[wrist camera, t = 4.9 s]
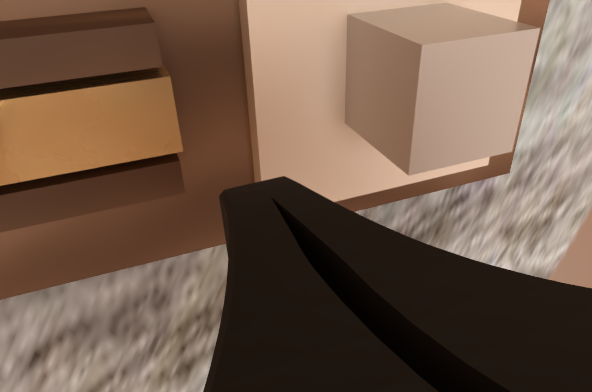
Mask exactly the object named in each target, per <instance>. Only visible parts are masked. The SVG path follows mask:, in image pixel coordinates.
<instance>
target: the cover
mask: <svg viewBox="0 0 592 392" xmlns="http://www.w3.org/2000/svg"><path fill="white" fill-rule="evenodd" d="M520 5H521V0H239V10H240V21H241V33H242V44H243V55H244V66H245V77H246V88H247V100H248V111H249V122H250V133H251V144H252V155H253V167H254V178H255V182H260V181H264V180H269V179H273V178H277V177H282V176H285V177H288V178H290V179H292V180H294V181H296V182H298V183H300V184H302V185H303V186H305V187H307V188H309V189H311V190H313V191H314V192H316V193H318V194H320V195H322V196H324V197H326V198H328V199H329V200H331V201H333V202H336V201H340V200H345V199H349V198H353V197H357V196H361V195H366V194H370V193H374V192H378V191H382V190H386V189H391V188H395V187H399V186H403V185H407V184H412V183H416V182H420V181H424V180H428V179H432V178H437V177H441V176H445V175H449V174H453V173H457V172H462V171H466V170H470V169H474V168H478V167H483V166H487V165H488V163H489V158H490V157H491V156H495V155H500V154H504V153H508V152H512V150H513V145H514V141H515V137H516V132H517V128H518V124H519V119H520V115H521V110H522V106H523V102H524V97H525V93H526V89H527V84H528V80H529V75H530V71H531V67H532V62H533V58H534V54H535V49H536V45H537V40H538V36H539V32H540V28H539V27H535V26H531V25H527V24H524V23H520V22H517V20H518V15H519V10H520Z"/></svg>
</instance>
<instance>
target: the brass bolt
mask: <svg viewBox="0 0 592 392" xmlns="http://www.w3.org/2000/svg"><path fill="white" fill-rule="evenodd" d="M178 152H183V147H182V141H181V135H180V129H179V124H178V118H177V112H176V106H175V101H174V95H173V89H172V83H171V78H170V75H169V73H168V71H167V69H166V67H165V65H163V67H158V68H150V69H143V70H136V71H128V72H121V73H114V74H106V75H99V76H91V77H84V78H77V79H69V80H62V81H55V82H47V83H40V84H32V85H25V86H18V87H10V88H3V89H0V186H2V185H7V184H12V183H18V182H23V181H28V180H34V179H39V178H44V177H50V176H55V175H60V174H66V173H71V172H76V171H82V170H87V169H92V168H98V167H103V166H108V165H114V164H119V163H124V162H130V161H135V160H140V159H146V158H151V157H156V156H162V155H167V154H172V153H178Z"/></svg>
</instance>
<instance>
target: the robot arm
mask: <svg viewBox="0 0 592 392" xmlns="http://www.w3.org/2000/svg"><path fill="white" fill-rule="evenodd" d="M219 200H220V206H221V213H222V219H223V226H224V232H225V239H226V246H227V252H228V259H229V261H228V273H227V285H226V293H225V300H224V307H223V313H222V318H221V323H220V328H219V333H218V338H217V342H216V346H215V350H214V354H213V358H212V362H211V366H210V370H209V374H208V377H207V381H206V384H205V388H204V391H203V392H592V288H586V287H581V286H575V285H570V284H565V283H560V282H556V281H552V280H548V279H543V278H539V277H534V276H530V275H526V274H523V273H519V272H515V271H511V270H507V269H504V268H500V267H496V266H492V265H489V264H485V263H482V262H479V261H475V260H472V259H469V258H465V257H462V256H459V255H457V254H454V253H451V252H448V251H445V250H442V249H439V248H436V247H433V246H430V245H428V244H425V243H422V242H420V241H417V240H415V239H412V238H410V237H407V236H405V235H403V234H400V233H398V232H396V231H393V230H391V229H389V228H387V227H384V226H382V225H380V224H378V223H375V222H373V221H371V220H369V219H367V218H365V217H363V216H361V215H359V214H357V213H355V212H353V211H351V210H349V209H347V208H345V207H343V206H341V205H339V204H337V203H335V202H333V201H331V200H329V199H328V198H326V197H324V196H322V195H320V194H318V193H316V192H314V191H313V190H311V189H309V188H307V187H305V186H303V185H302V184H300V183H298V182H296V181H294V180H292V179H290V178H288V177H285V176H282V177H277V178H273V179H269V180H264V181H260V182H255V183H251V184H246V185H242V186H238V187H233V188H229V189H224V190H223V192H222V193H221V194H220V195H219Z"/></svg>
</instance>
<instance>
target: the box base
mask: <svg viewBox="0 0 592 392" xmlns="http://www.w3.org/2000/svg"><path fill="white" fill-rule="evenodd" d="M548 5H549V0H521V5H520V10H519V15H518V20H517V22H520V23H524V24H527V25H531V26H535V27H539V28H540V32H539V36H538V40H537V45H536V49H535V54H534V58H533V62H532V67H531V71H530V75H529V80H528V84H527V89H526V93H525V97H524V102H523V106H522V110H521V115H520V119H519V124H518V128H517V132H516V137H515V141H514V145H513V150H512V152H508V153H504V154H500V155H495V156H491V157H490V158H489V163H488V165H487V166H483V167H478V168H474V169H470V170H466V171H462V172H457V173H453V174H449V175H445V176H441V177H437V178H432V179H428V180H424V181H420V182H416V183H412V184H407V185H403V186H399V187H395V188H391V189H386V190H382V191H378V192H374V193H370V194H366V195H361V196H357V197H353V198H349V199H345V200H340V201H336V202H335V203H337V204H339V205H341V206H343V207H345V208H347V209H349V210H351V211H353V212H354V211H358V210H362V209H367V208H371V207H375V206H379V205H383V204H387V203H391V202H395V201H399V200H403V199H407V198H411V197H415V196H419V195H423V194H427V193H431V192H435V191H439V190H443V189H447V188H451V187H455V186H459V185H463V184H467V183H471V182H475V181H479V180H483V179H487V178H491V177H495V176H499V175H503V174H507V173H510V169H511V164H512V160H513V156H514V151H515V147H516V143H517V138H518V134H519V130H520V125H521V121H522V117H523V112H524V108H525V104H526V100H527V95H528V91H529V87H530V82H531V78H532V74H533V69H534V65H535V61H536V56H537V52H538V48H539V43H540V39H541V35H542V30H543V26H544V22H545V17H546V13H547V9H548ZM163 65H165V67H166V69H167V71H168V73H169V75H170V78H171V83H172V89H173V95H174V101H175V106H176V112H177V118H178V124H179V129H180V135H181V141H182V147H183V152H178V153H172V154H167V155H162V156H156V157H151V158H146V159H140V160H135V161H130V162H124V163H119V164H114V165H108V166H103V167H98V168H92V169H87V170H82V171H76V172H71V173H66V174H60V175H55V176H50V177H44V178H39V179H34V180H28V181H23V182H18V183H12V184H7V185H2V186H0V300H1V299H5V298H9V297H13V296H17V295H21V294H25V293H29V292H33V291H37V290H41V289H45V288H49V287H53V286H57V285H61V284H65V283H69V282H73V281H77V280H81V279H85V278H89V277H93V276H97V275H101V274H105V273H109V272H113V271H117V270H121V269H125V268H129V267H133V266H137V265H141V264H145V263H149V262H154V261H158V260H162V259H166V258H170V257H174V256H178V255H182V254H186V253H190V252H194V251H198V250H202V249H206V248H210V247H214V246H218V245H222V244H226V239H225V232H224V226H223V219H222V213H221V206H220V200H219V195H220V194H221V193H222V192H223V190H224V189H229V188H233V187H238V186H242V185H246V184H251V183H255V178H254V167H253V155H252V144H251V133H250V122H249V111H248V100H247V88H246V77H245V66H244V55H243V44H242V33H241V21H240V10H239V0H0V89H3V88H10V87H18V86H25V85H32V84H40V83H47V82H55V81H62V80H69V79H77V78H84V77H91V76H99V75H106V74H114V73H121V72H128V71H136V70H143V69H150V68H158V67H163Z"/></svg>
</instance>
